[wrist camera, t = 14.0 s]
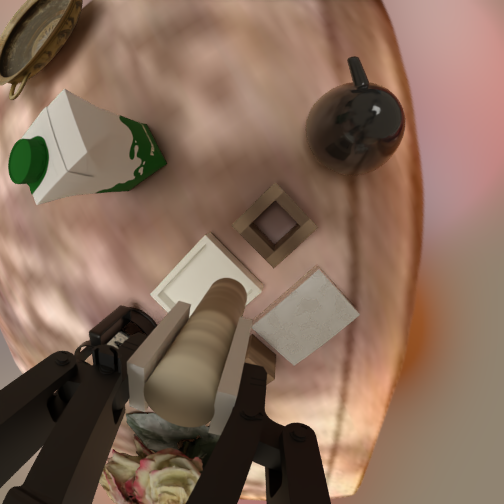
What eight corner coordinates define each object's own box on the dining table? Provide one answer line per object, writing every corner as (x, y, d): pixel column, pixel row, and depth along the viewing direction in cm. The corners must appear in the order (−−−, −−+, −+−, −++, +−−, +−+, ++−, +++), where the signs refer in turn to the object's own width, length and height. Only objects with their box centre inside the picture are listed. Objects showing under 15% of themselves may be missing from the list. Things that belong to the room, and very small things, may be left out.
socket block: (275, 183, 34) (275, 182, 30) (313, 223, 35) (318, 227, 31) (236, 221, 36) (231, 225, 32) (274, 259, 36) (273, 268, 32)
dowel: (212, 273, 21) (142, 364, 9) (250, 282, 21) (219, 388, 9) (206, 308, 22) (144, 413, 10) (242, 317, 21) (209, 434, 10)
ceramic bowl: (81, 91, 33) (42, 77, 23) (8, 119, 35) (-24, 115, 25) (119, -28, 26) (97, -51, 16) (41, 10, 28) (17, -2, 18)
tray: (210, 231, 36) (205, 234, 34) (263, 284, 37) (262, 291, 35) (156, 288, 39) (149, 294, 37) (205, 335, 40) (201, 343, 38)
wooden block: (252, 334, 39) (248, 357, 33) (275, 354, 40) (274, 379, 34) (238, 345, 40) (232, 368, 34) (261, 365, 40) (258, 389, 34)
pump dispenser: (359, 93, 30) (404, 44, 15) (388, 164, 32) (452, 154, 17) (290, 112, 32) (297, 63, 17) (319, 187, 34) (350, 187, 19)
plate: (316, 263, 36) (318, 269, 34) (355, 307, 37) (359, 314, 35) (252, 318, 39) (250, 327, 37) (293, 356, 40) (294, 365, 38)
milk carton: (104, 151, 35) (-1, 141, 16) (150, 115, 33) (53, 72, 14) (127, 200, 36) (20, 218, 17) (176, 165, 35) (79, 151, 15)
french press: (162, 365, 42) (100, 466, 20) (115, 350, 43) (42, 433, 21) (162, 305, 40) (72, 404, 17) (110, 291, 40) (10, 365, 18)
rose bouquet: (231, 414, 44) (196, 560, 15) (234, 482, 50) (216, 576, 21) (109, 389, 46) (35, 489, 17) (140, 462, 53) (102, 542, 24)
